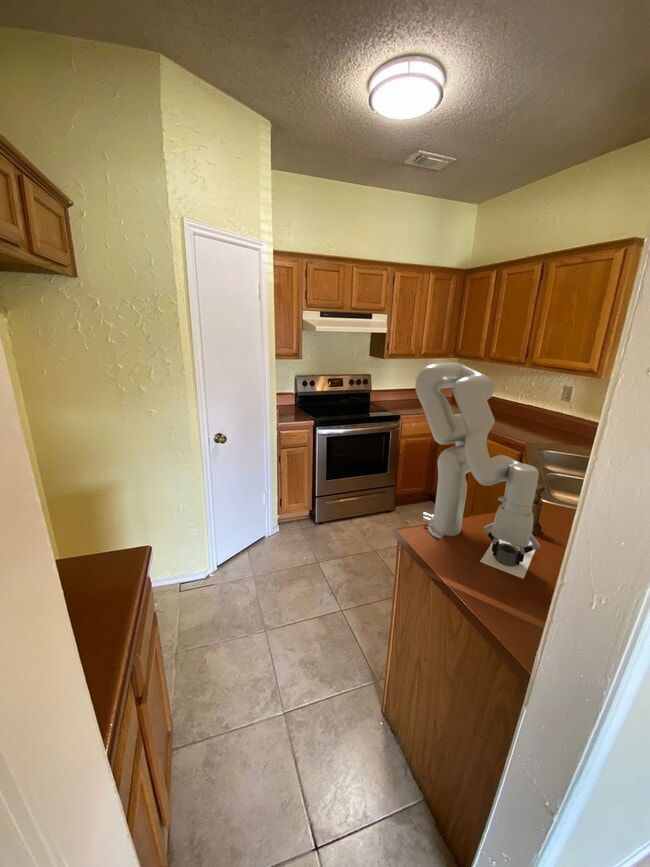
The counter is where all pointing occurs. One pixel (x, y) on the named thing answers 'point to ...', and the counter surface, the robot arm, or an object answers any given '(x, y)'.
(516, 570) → the post board
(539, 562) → the counter surface
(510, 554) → the ring
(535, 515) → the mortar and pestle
